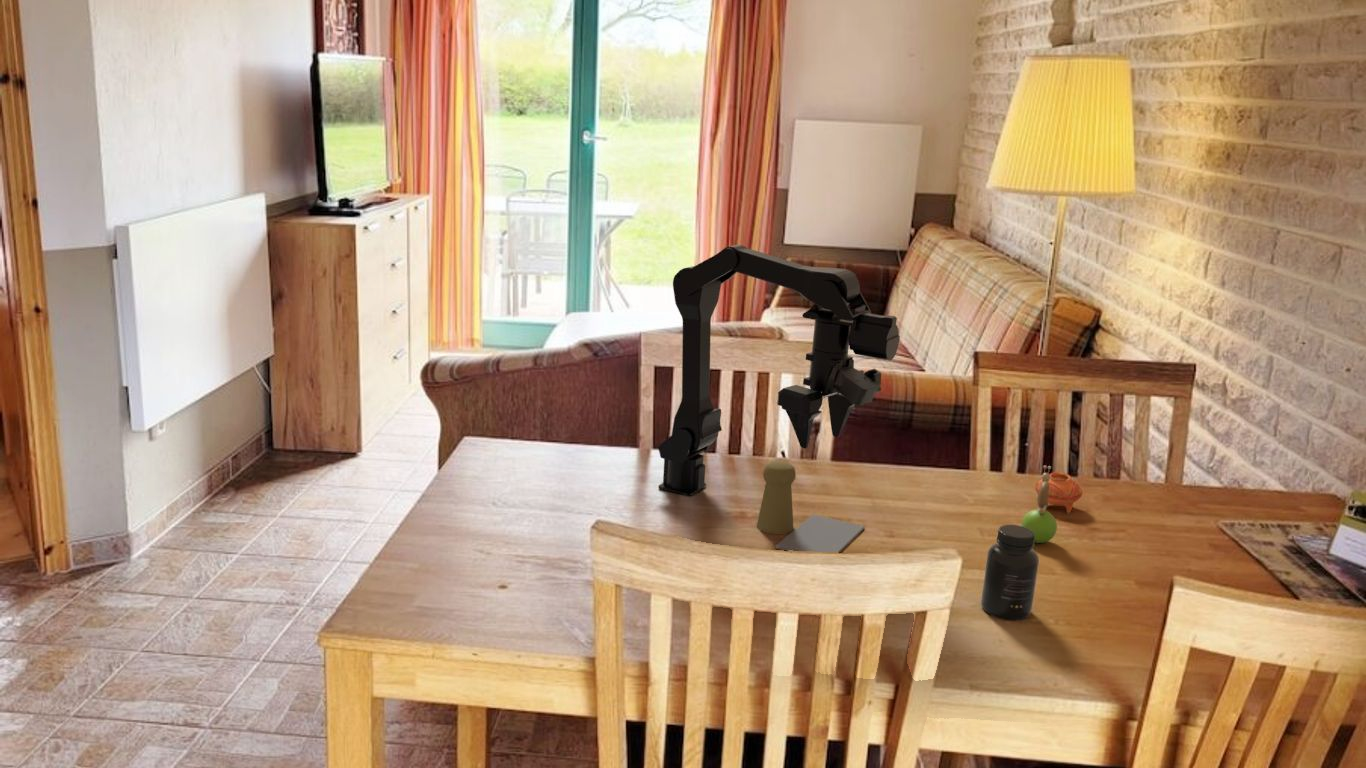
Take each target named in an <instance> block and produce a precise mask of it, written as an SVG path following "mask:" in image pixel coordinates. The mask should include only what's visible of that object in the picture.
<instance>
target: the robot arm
mask: <svg viewBox="0 0 1366 768" xmlns="http://www.w3.org/2000/svg"><path fill="white" fill-rule="evenodd" d="M737 273H739V274H742V275H745V276H747V277H752V278H755V279H758V280H761V281H764V282H767V283H771V284H774V285H777V286H779V287H782V288H785V289H790V290H792V291H794V292H796V293H798V294H800V296H802V297H803V298H804V299H805V300H807V301H809V302H811V303H812V306H811V307H810V308H809V309H808V310H807V311H805V312H803V314H802V317H803V318H804V319H808V320H814V328H813V335H812V336H813V339H812V348H811V352H807V353H805V361H806V360H807V361H809V362H810V366H809V376H808V377H803V383H802V385H804V386H802V385H797V384H794V385H790V386H786V387H782V388H781V390H779V391H778V393H777V399H776V400H777V403H776V405H777V406H779V407H781V409H782V410H785V412H786V414H787V416H788V418H789V421H790V422H791V425H792V427H793V430H794V433H795V436H796V438H797V441H798V443H799V446H800V448H802V449H808V447H809V443H810V438H811V434H812V429H813V424H814V420H815V418H816V417H818V416H819V415H820V414H821V413H822V410H820V409H821V407H822V406H823V399H824V398H827V403H828V409H829V410H828V411H829V412H828V413H829V420H830V429H831V433H832V434H831V435H832V437H835V438H840V436H841V434H842V432H843V430H844V427H845V425H846V422H847V421H848V418H849V416H850V415H851V414H850V413H851V412H852V409H853V408H854V406H856V407H862V406H863V405H865V404H870V403H871V402H872V401H873V399H874V396H875V394H877V393H879V392H881V391H882V388H881V387H882V372H881V371H880V370H878V369H876V368H872V369H868V370H867V371H864V370H862V369H861V370H858V369H856V368H855V367H854V366H855V360H854V357H853V356H851V355H849V351H850V350H851V351H853V354H855V355H858V356H863V357H869V358H874V359H877V360H882V361H883V360H884V361H888V362H889V361H892V360H893V359H894V358H895V356H896V354H897V353H898V349H899V346H900V339H901V336H900V335H899V326H898V325H897V319H898V318H897V317H896V316H894V315H881V314H876V313H872V310H871V308H870V307H869V304H868V303H867V301H866V299H865V297H864V295H863V294H862V292H861V290H860V289H861V285H860V281H859V279H858V277H857V274H856V273H854V272H853V271H852V270H850V269H845V268H835V267H827V266H826V267H824V266H808V265H805V264H800V263H798V262H795V261H791V260H787V259H784V258H781V257H777V256H775V255H771V254H767V253H764V252H761V251H759V250H758V251H757V250H755V249H751V248H749V247H746V246H745V245H742V244H736V245H735V244H734V245H730V246H726V247H724V248H723V249H722V250H720V251H719V252H718V253H716V254H715V255H713V256H711V257H709V258H706V259H705V260H704V261H702V262H700V263H697V264H696V265H694V266H693V265H692V266H687V267H683V268H681V269H679V270H678V271H677V273H676V274H674V277H673V279H672V280H673V281H672V289H673V296H674V302H675V305H676V308H677V309H678V312H679V314H680V315H681V318H682V319H681V320H682V338H681V339H682V341H681V342H682V343H681V345H682V349H681V350H682V353H681V357H682V358H681V368H682V369H681V370H682V371H681V400H680V403H679V405H678V408H677V410H676V413H675V415H674V416H673V417H674V418H673V423H672V429H671V435H670V436H669V437H667V438H666V439H665V440H664V441H662V442H661V444H658V447H657V448H658V449H657V450H658V452H659V456H660V458H661V459H663V475H662V476H663V478H662V479H663V480H662V483H660V484H659V485H658V489H660V490H664V491H667V492H673V493H676V494H680V495H684V496H692V495H694V494H695V493H698V492H699V491H700V490H702V489H703V488H704V487H707V483H706V482H705V480H706V479H705V478H706V465H705V464H704V455H703V454H702V453H705V452H708V449H709V448H710V445H712V444H713V443H714V442H715V441H716V440H717V439H718V435H719V433H720V432H721V431H723V429H722V425H721V417H722V409H721V408H715V407H714V406H713V403H712V401H711V399H710V393H711V392H710V391H711V389H710V388H711V387H710V384H711V383H710V382H711V381H710V380H711V375H710V374H711V327H712V326H711V321H712V316H713V314H714V312H715V310H716V307H717V305H718V302H719V298H720V294H721V292H720V291H721V287H722V284H724V283H725V282H727V281H729V280H730V279H731V278H732V277H734V276H735V275H736V274H737ZM805 386H808V387H805Z"/></svg>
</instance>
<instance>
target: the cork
mask: <svg viewBox="0 0 1366 768" xmlns="http://www.w3.org/2000/svg"><path fill="white" fill-rule="evenodd" d="M762 472H763V473H762V475H763V479H764V481H765V485H764V489H763V494H762V500H761V504H760V507H759V513H758V517H757V520H756V521H757V522H756V527H757V529H758V530H760V531H761V532H763V533H766V534H770V535H771V534H772V535H787V534H790V533H792V532H793V531H794V530H795V529H794V514H793V513H794V512H793V494H792V484H793V482H794V481H795V480H796V469H795V467H794V465H793V464H791V463H790V462H786V461H782V460H774V461H773V460H772V461H769V462H768V463H766V464H765V466H764V468H763V470H762Z"/></svg>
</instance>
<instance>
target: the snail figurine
mask: <svg viewBox="0 0 1366 768" xmlns="http://www.w3.org/2000/svg"><path fill="white" fill-rule="evenodd" d="M1047 469H1048V470H1051V469H1052V466H1051V465H1048V466H1047V465H1043V470H1044V472H1043V473H1042V475H1041V479H1042V483H1041V486H1040V487H1039V491H1038V493H1037V499H1036V500H1037V501H1036V502H1037V508H1035V509H1032V510H1030V511H1029V512H1027V513H1026V514H1025V515H1024V516H1023V518H1022V521H1021V526H1023V527H1026V528H1028V529H1030V530H1032V531H1033V532H1034V534H1035V537H1034V543H1037V544H1042V543H1043V544H1044V543H1047V542H1050V540H1052V539H1053V538H1054V537H1055V536H1056V533H1057V532H1058V531H1057V530H1058V523H1057V521H1056V518H1055V516H1054V515H1052V513H1051V512H1049V511H1048V510H1047V507H1048V506H1049V503H1048V499H1049V479H1050V471H1048V472H1046V470H1047Z"/></svg>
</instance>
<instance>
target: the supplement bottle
mask: <svg viewBox="0 0 1366 768" xmlns="http://www.w3.org/2000/svg"><path fill="white" fill-rule="evenodd" d="M1034 537H1035V534H1034V532H1033V531H1032V530H1030V529H1028V528H1026V527H1023V526H1022V525H1017V524H1004V525H1001V526H999V527H998V530H997V537H996V543H994V544H992V545H991V546H990V547H989V548H988V550H987V555H986V556H987V557H986V563H985V570H984V577H983V586H982V594H981V602H980V603H981V607H982V608H983V610H984V612H986V613H987V614H989V615H990V616H993V617H994V618H998V619H1002V620H1006V621H1022V620H1025V619H1026V618H1029V616H1030V615H1031V613H1032V609H1033V604H1034V597H1035V596H1034V595H1035V590H1036V589H1035V588H1036V583H1037V576H1038V570H1039V563H1040V562H1039V561H1040V560H1039V559H1040V558H1039V556H1038V553H1037V552H1036V551H1035V549H1033V548H1034V547H1035V542H1034Z"/></svg>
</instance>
